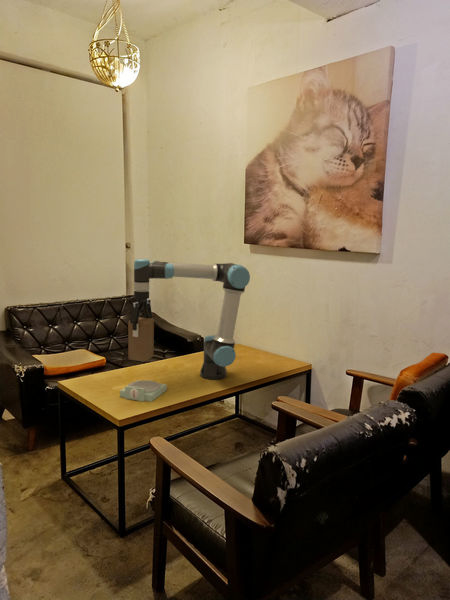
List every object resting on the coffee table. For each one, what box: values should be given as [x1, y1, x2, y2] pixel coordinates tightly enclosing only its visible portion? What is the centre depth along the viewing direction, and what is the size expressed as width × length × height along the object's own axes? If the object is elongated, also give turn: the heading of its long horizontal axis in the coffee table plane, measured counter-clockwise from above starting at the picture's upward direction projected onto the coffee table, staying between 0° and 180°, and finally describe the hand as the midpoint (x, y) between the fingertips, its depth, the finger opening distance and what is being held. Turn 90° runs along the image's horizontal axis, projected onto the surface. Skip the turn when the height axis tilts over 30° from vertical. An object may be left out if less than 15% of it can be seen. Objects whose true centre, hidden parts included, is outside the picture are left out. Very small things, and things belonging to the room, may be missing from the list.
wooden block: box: [127, 317, 155, 362], centre depth 228 cm, size 10×10×20 cm
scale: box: [119, 379, 168, 403], centre depth 226 cm, size 17×19×6 cm
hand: (141, 334), depth 228 cm, fingers closed on wooden block, 10 cm apart
